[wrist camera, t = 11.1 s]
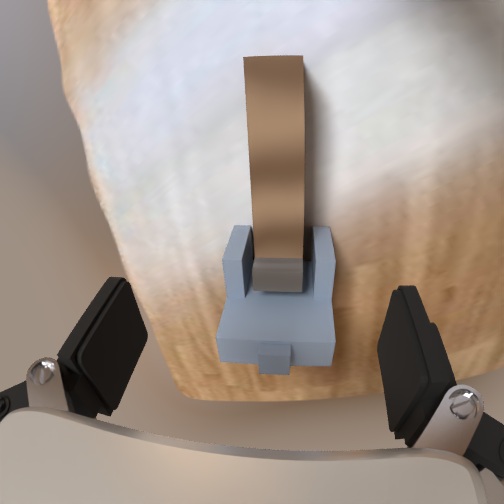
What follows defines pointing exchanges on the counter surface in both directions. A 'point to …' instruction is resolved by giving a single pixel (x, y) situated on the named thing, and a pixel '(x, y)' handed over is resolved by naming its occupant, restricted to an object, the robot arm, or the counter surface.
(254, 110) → the brown wooden bar
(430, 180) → the counter surface
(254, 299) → the grey slotted holder
